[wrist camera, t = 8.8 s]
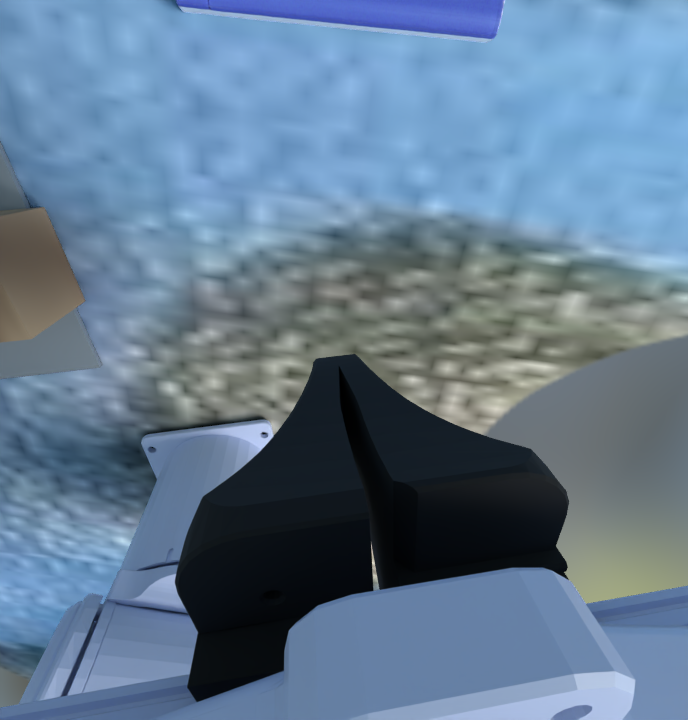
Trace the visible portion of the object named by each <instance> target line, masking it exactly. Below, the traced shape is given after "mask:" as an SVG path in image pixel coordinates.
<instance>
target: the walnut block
mask: <svg viewBox="0 0 688 720" xmlns="http://www.w3.org/2000/svg"><path fill="white" fill-rule="evenodd" d="M83 302H85V299H84V296H83V294H82V292H81V290H80V287H79V285H78V283H77V280H76V278H75V276H74V274H73V271H72V269H71V267H70V265H69V262H68V260H67V258H66V255H65V253H64V251H63V249H62V246H61V244H60V242H59V240H58V237H57V235H56V233H55V230H54V228H53V226H52V224H51V221H50V219H49V217H48V215H47V212H46V210H45V208H44V207H39V208H27V209H15V210H3V211H0V343H1V342H10V341H19V340H28V339H32V338H34V337H35V336H37V335H38V334H40V333H41V332H42V331H44V330H45V329H47V328H48V327H49V326H51V325H52V324H54V323H55V322H57V321H58V320H59V319H61V318H62V317H64V316H65V315H66V314H68V313H69V312H71V311H72V310H74V309H75V308H76V307H78V306H79V305H81V304H82V303H83Z"/></svg>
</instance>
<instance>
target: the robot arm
mask: <svg viewBox="0 0 688 720" xmlns="http://www.w3.org/2000/svg"><path fill="white" fill-rule="evenodd" d="M262 432H266V433H268V434H262ZM141 445H142V447H143V449H144V452H145V454H146V456H147V458H148V460H149V463H150V465H151V467H152V469H153V471H154V474H155V476H156V478H157V482H156V484H155V486H154V489H153V491H152V494H151V496H150V498H149V501H148V503H147V506H146V508H145V510H144V513H143V515H142V518H141V520H140V522H139V525H138V527H137V530H136V532H135V534H134V537H133V539H132V542H131V544H130V546H129V549H128V551H127V554H126V556H125V559H124V561H123V563H122V566H121V568H120V570H119V571H118V573H117V575H116V578H115V580H114V582H113V584H112V586H111V588H110V591H109V593H108V595H107V597H106V599H105V601H104V603H103V604H100V602H101V600H102V597H103V596H102V595H98V594H93V593H92V594H88V595H87V596H86V597H85V598H84V600H83V601H80V602H78V603H76V604H75V605H73V606H71V607H70V608H68V609H67V611H66V612H65V614H64V615H63V617H62V619H61V621H60V623H59V624H58V626H57V628H56V630H55V632H54V634H53V636H52V638H51V640H50V642H49V644H48V646H47V648H46V650H45V652H44V654H43V655H42V657H41V659H40V661H39V663H38V666H37V668H36V670H35V672H34V674H33V676H32V678H31V680H30V682H29V684H28V686H27V688H26V690H25V692H24V694H23V696H22V698H21V700H20V702H19V704H18V705H13V706H6V707H1V708H0V720H688V586H684V587H678V588H672V589H667V590H661V591H656V592H650V593H644V594H638V595H633V596H627V597H622V598H616V599H611V600H605V601H599V602H593V603H588V604H586V603H585V602H584V601H583V599H582V597H581V596H580V594H579V593H578V591H577V590H576V588H575V587H574V585H573V584H572V582H571V581H569V579H568V578H567V576H566V575H565V573H564V572H565V571H566V570H567V568H568V567H567V563H566V561H565V559H564V558H563V556H562V555H561V553H560V552H559V551H558V549H557V547H556V544H557V541H558V538H559V535H560V533H561V530H562V527H563V524H564V521H565V518H566V515H567V510H568V505H569V500H568V496H567V492H566V490H565V489H564V488H563V486H562V485H561V484H560V483H559V482H558V480H557V479H556V478H555V476H554V475H553V474H552V472H551V471H550V470H549V469H548V467H547V466H546V465H545V464H544V463H543V462H542V460H541V459H540V458H539V457H538V456H537V455H536V454H535V453H534V452H533V451H532V450H531V449H529V448H526V447H522V446H518V445H514V444H511V443H507V442H504V441H500V440H496V439H493V438H489V437H487V436H484V435H481V434H478V433H475V432H473V431H470V430H467V429H465V428H462V427H460V426H457V425H455V424H452V423H450V422H448V421H446V420H444V419H442V418H439V417H437V416H435V415H433V414H431V413H429V412H428V411H426V410H424V409H422V408H421V407H419V406H417V405H416V404H414V403H412V402H410V401H409V400H407V399H406V398H404V397H403V396H402V395H400V394H399V393H397V392H396V391H395V390H393V389H392V388H391V387H390V386H388V385H387V384H386V383H385V382H384V381H383V380H381V379H380V378H379V377H378V376H377V375H376V374H375V373H374V372H373V371H372V370H371V369H370V368H369V367H368V366H367V365H366V364H365V363H364V362H363V361H362V360H361V359H360V358H359V357H358V356H357V355H355V354H351V355H343V356H335V357H326V358H318V359H316V360H315V361H314V362H313V368H312V371H311V374H310V377H309V380H308V382H307V384H306V386H305V389H304V391H303V393H302V395H301V397H300V398H299V400H298V402H297V404H296V405H295V407H294V409H293V411H292V412H291V414H290V415H289V417H288V418H287V420H286V421H285V422H284V424H283V425H282V426H281V428H280V429H279V430H278V432H277V433H276V434H275V435H274V436H273V431H272V426H271V423H270V422H269V421H268V420H254V421H247V422H239V423H231V424H223V425H216V426H208V427H200V428H192V429H185V430H177V431H169V432H162V433H154V434H148V435H145V436H144V437H143V439H142V441H141ZM151 447H154V448H156V449H153V448H151ZM371 544H372V549H373V555H374V560H375V566H376V572H377V577H378V583H379V589H380V590H376V591H373V575H372V554H371ZM94 621H95V622H94Z"/></svg>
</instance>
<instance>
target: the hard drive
mask: <svg viewBox="0 0 688 720" xmlns="http://www.w3.org/2000/svg"><path fill="white" fill-rule="evenodd" d="M176 2H177V5H178V6H179V8H180V9H181V10H182V11H183V12H188V13H198V14H208V15H217V16H224V17H234V18H243V19H253V20H263V21H272V22H282V23H293V24H303V25H313V26H323V27H332V28H342V29H352V30H363V31H372V32H383V33H393V34H403V35H413V36H423V37H433V38H443V39H453V40H464V41H473V42H483V43H487V42H489V41H491V40H493V39H494V38H495V37H496V35H497V32H498V29H499V26H500V22H501V18H502V13H503V7H504V2H505V0H176Z"/></svg>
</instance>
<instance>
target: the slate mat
mask: <svg viewBox="0 0 688 720" xmlns="http://www.w3.org/2000/svg"><path fill="white" fill-rule="evenodd" d="M27 208H30V205H29V203H28V201H27V199H26V197H25V194H24V192H23V190H22V188H21V186H20V183H19V181H18V179H17V177H16V175H15V172H14V170H13V168H12V166H11V164H10V162H9V159H8V157H7V155H6V153H5V151H4V148H3V146H2V144H1V142H0V211H3V210H15V209H27ZM101 366H102V363H101V361H100V359H99V357H98V355H97V352H96V350H95V348H94V346H93V344H92V341H91V339H90V337H89V335H88V333H87V330H86V328H85V326H84V324H83V322H82V319H81V317H80V315H79V313H78V311H77V308H75V309H74V310H72V311H71V312H69V313H68V314H66V315H65V316H64V317H62V318H61V319H59V320H58V321H57V322H55V323H54V324H52V325H51V326H49V327H48V328H47V329H45V330H44V331H42V332H41V333H40V334H38V335H37V336H35V337H34V338H32V339H28V340H19V341H10V342H1V343H0V379H5V378H14V377H23V376H31V375H40V374H49V373H58V372H66V371H75V370H84V369H92V368H100V367H101Z"/></svg>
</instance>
